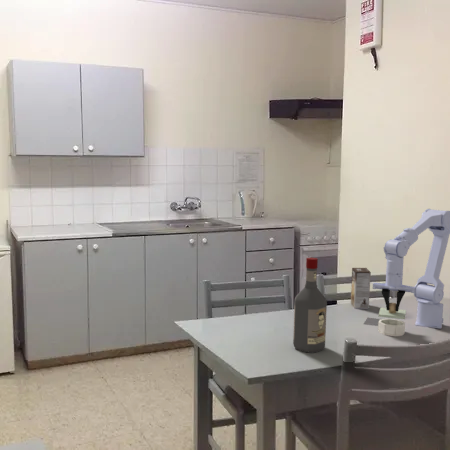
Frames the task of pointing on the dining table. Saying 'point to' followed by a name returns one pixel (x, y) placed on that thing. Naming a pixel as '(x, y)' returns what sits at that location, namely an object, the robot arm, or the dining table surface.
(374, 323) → the mat
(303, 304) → the liquor
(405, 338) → the dining table surface
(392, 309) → the lid
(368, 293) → the coffee box
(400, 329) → the bowl
